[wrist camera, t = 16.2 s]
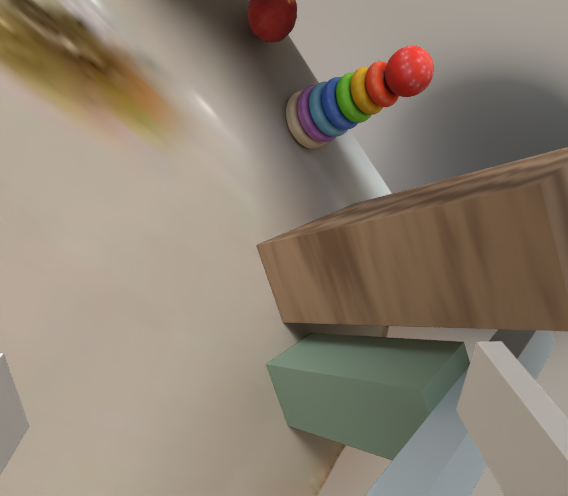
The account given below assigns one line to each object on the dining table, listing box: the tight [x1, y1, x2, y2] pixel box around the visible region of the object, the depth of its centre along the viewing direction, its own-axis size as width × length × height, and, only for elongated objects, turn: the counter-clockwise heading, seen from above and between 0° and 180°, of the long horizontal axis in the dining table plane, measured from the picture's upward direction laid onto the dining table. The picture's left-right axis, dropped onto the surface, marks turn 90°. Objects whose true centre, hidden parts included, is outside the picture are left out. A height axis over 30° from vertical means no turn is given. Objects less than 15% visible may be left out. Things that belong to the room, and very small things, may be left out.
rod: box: [365, 329, 555, 496], centre depth 33 cm, size 30×4×4 cm, turn 114°
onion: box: [247, 0, 297, 42], centre depth 49 cm, size 6×6×8 cm
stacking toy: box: [286, 46, 434, 149], centre depth 49 cm, size 8×8×19 cm
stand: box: [257, 147, 568, 331], centre depth 43 cm, size 20×10×30 cm, turn 114°
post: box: [266, 333, 470, 460], centre depth 42 cm, size 8×8×20 cm
